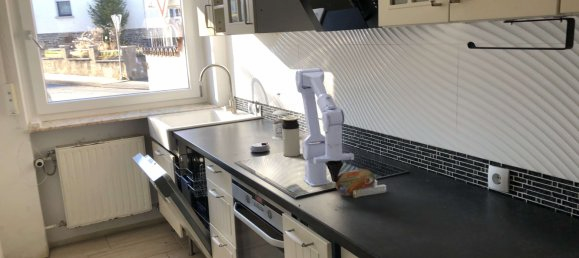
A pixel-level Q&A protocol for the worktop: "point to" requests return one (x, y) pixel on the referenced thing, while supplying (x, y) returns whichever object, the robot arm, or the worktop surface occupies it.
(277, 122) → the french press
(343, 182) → the tin
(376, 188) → the door track
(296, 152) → the travel mug
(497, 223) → the worktop surface
